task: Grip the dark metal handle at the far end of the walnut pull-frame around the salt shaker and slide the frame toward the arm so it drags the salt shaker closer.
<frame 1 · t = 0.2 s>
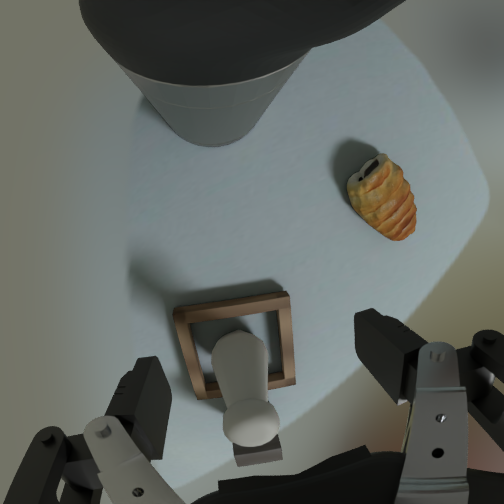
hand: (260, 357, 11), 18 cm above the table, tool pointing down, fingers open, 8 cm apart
salt shaker: (237, 344, 30), resting in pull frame
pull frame: (245, 390, 27), point 4 cm above the table, slide at 0.0 cm
pastry: (377, 195, 28), on the table
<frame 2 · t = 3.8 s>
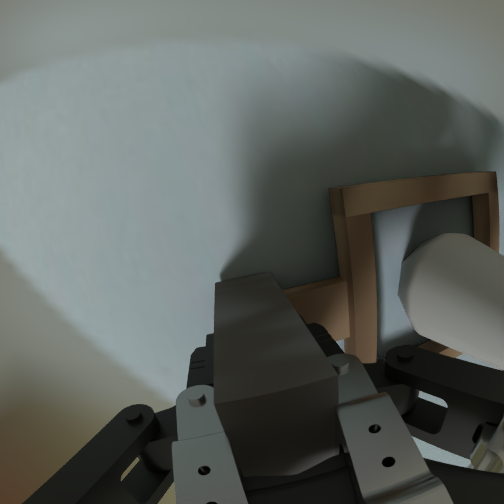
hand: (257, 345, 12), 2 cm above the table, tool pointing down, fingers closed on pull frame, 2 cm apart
salt shaker: (422, 275, 15), resting in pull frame
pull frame: (434, 319, 10), point 4 cm above the table, slide at 0.0 cm, touching gripper
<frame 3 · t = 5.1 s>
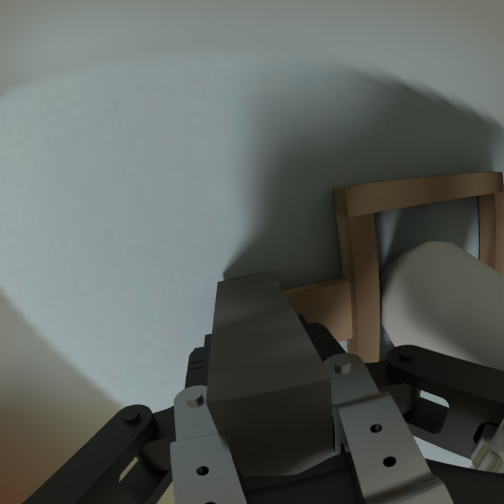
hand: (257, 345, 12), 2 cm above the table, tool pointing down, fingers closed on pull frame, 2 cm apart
salt shaker: (404, 285, 14), resting in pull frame, touching hand
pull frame: (437, 321, 10), point 4 cm above the table, slide at 3.8 cm, touching gripper, salt shaker
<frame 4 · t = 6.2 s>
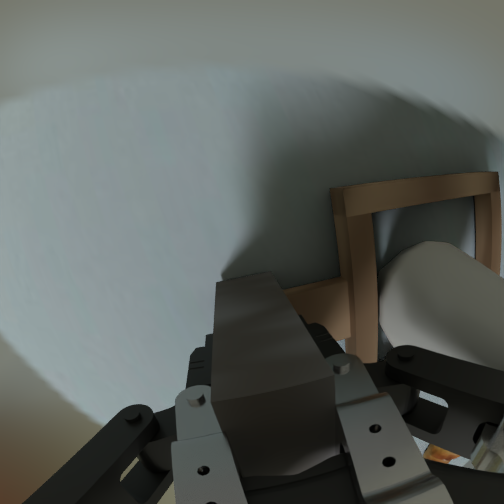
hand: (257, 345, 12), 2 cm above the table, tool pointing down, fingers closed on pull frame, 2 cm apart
salt shaker: (402, 284, 14), resting in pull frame, touching hand
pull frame: (435, 319, 10), point 4 cm above the table, slide at 7.4 cm, touching gripper, salt shaker
pastry: (459, 419, 19), on the table
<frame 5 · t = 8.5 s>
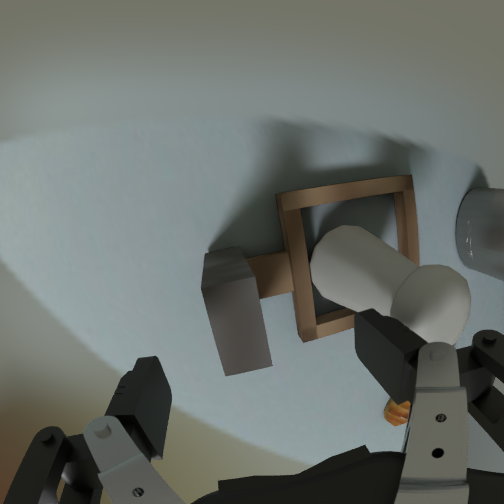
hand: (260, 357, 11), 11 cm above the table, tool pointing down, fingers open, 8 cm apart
salt shaker: (333, 257, 23), resting in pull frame
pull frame: (344, 274, 18), point 4 cm above the table, slide at 7.7 cm
pastry: (414, 383, 28), on the table
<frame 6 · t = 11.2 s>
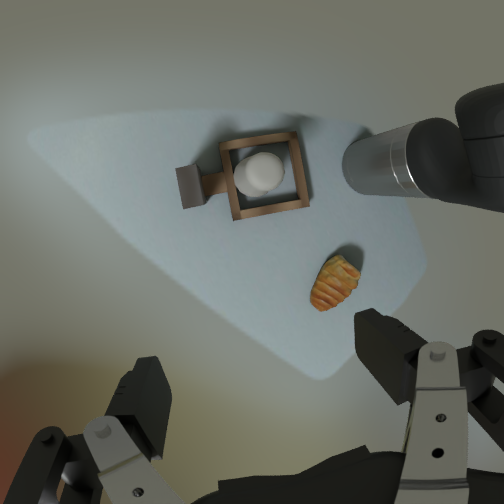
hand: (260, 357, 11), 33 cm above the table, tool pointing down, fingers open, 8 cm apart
salt shaker: (252, 177, 42), resting in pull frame
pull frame: (247, 176, 37), point 4 cm above the table, slide at 7.7 cm
pastry: (333, 279, 47), on the table
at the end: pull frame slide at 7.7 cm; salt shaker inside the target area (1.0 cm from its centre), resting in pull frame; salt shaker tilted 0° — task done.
